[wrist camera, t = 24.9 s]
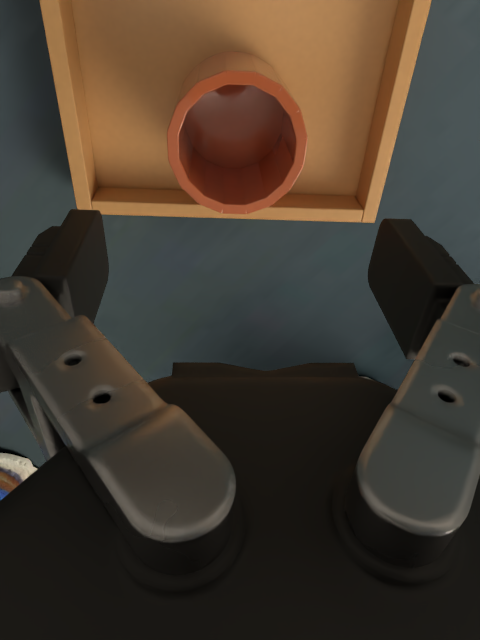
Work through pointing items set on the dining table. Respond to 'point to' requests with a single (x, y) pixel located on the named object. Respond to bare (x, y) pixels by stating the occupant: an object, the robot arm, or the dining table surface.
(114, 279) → the dining table surface
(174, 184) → the serving tray
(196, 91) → the terracotta cup
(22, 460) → the dessert
